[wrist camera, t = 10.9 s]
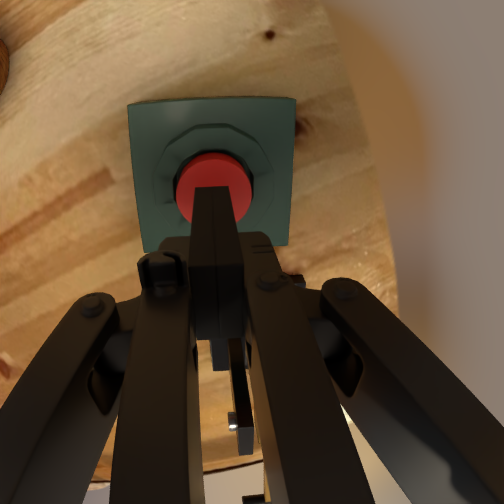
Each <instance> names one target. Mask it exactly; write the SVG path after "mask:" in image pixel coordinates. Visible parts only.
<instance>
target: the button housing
mask: <svg viewBox="0 0 504 504" xmlns="http://www.w3.org/2000/svg"><path fill="white" fill-rule="evenodd" d="M127 107H128V123H129V137H130V149H131V159H132V169H133V178H134V187H135V195H136V203H137V211H138V218H139V225H140V231H141V238H142V244H143V250H144V253H151V252H154V251H158V248H159V244H160V243H161V242H162V241H163V240H164V239H165V238H166V237H177V236H190V233H191V223H190V222H189V221H188V220H187V219H185V217H184V216H183V215H182V213H181V212H180V210H179V208H178V205H177V200H176V190H177V186H178V182H179V179H180V175H181V173H182V171H183V169H184V167H185V166H186V165H187V164H188V163H189V162H190V161H191V160H192V159H194V158H195V157H197V156H199V155H202V154H205V153H211V152H218V153H223V154H227V155H229V156H231V157H233V158H234V159H236V160H237V161H238V162H239V163H240V164H241V165H242V167H243V168H244V170H245V172H246V174H247V177H248V179H249V182H250V185H251V190H252V198H251V203H250V206H249V208H248V210H247V212H246V213H245V215H244V216H243V217H242V218H241V219H240V220H239V221H238V222H237V223H236V226H237V231H238V232H255V231H262V232H263V233H264V234H266V235H267V236H268V237H269V238H270V240H271V243H272V246H287V245H288V238H289V224H290V209H291V194H292V177H293V159H294V140H295V118H296V99H294V98H289V97H273V96H217V97H193V98H177V99H165V100H154V101H144V102H136V103H133V104H129V105H128V106H127Z"/></svg>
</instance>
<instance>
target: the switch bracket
mask: <svg viewBox="0 0 504 504" xmlns="http://www.w3.org/2000/svg"><path fill="white" fill-rule="evenodd" d="M290 277H291V279H292V280H293V282H294V285H296V286H299V287H302V288H305V287H306V282H305V280H304V278H303V275H295V276H290ZM210 348H211V357H212V366H213V371H226V370H229V372H230V382H231V391H232V400H233V409H234V412H228V423H229V431H236V435H237V443H238V452H239V456H241V455H252V454H253V444H254V422H253V416H252V409H251V403H250V396H249V390H248V383H247V376H246V370H245V369H248V365H247V366H245V332H244V337H242V338H228V339H211V340H210Z"/></svg>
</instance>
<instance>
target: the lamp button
mask: <svg viewBox="0 0 504 504" xmlns="http://www.w3.org/2000/svg"><path fill="white" fill-rule="evenodd" d="M211 186H229V191H230V196H231V201H232V206H233V211H234V216H235V221H236V223H237V222H238V221H239V220H240V219H241V218H242V217H243V216H244V215H245V213H246V212H247V210H248V208H249V206H250V203H251V198H252V190H251V185H250V182H249V179H248V177H247V174H246V172H245V170H244V168H243V167H242V165H241V164H240V163H239V162H238V161H237V160H236V159H234V158H233V157H231V156H229V155H227V154H223V153H218V152H211V153H205V154H202V155H199V156H197V157H195V158H194V159H192V160H191V161H190V162H189V163H188V164H187V165H186V166H185V167H184V169H183V171H182V173H181V175H180V179H179V182H178V186H177V190H176V200H177V205H178V208H179V210H180V212H181V213H182V215H183V216H184V217H185V219H187V220H188V221H189V222H190V223H191V222H192V211H193V201H194V191H195V187H211Z"/></svg>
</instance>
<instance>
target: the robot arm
mask: <svg viewBox="0 0 504 504" xmlns="http://www.w3.org/2000/svg"><path fill="white" fill-rule="evenodd" d="M137 267H138V272H139V277H140V282H141V286H142V292H141V295H140V296H138V297H136V298H133V299H130V300H127V301H123V302H119V303H115V299H114V298H113V297H112V296H111V295H110V294H106V293H103V292H95V293H90V294H87V295H85V296H83V297H81V298H79V299H78V300H77V301H76V302H75V303H74V304H73V305H72V307H71V308H70V309H69V310H68V312H67V313H66V314H65V316H64V317H63V318H62V320H61V321H60V322H59V324H58V325H57V326H56V328H55V329H54V330H53V332H52V333H51V334H50V336H49V337H48V338H47V340H46V341H45V343H44V344H43V345H42V347H41V348H40V350H39V351H38V352H37V354H36V355H35V357H34V358H33V360H32V361H31V363H30V364H29V365H28V367H27V368H26V370H25V371H24V373H23V374H22V376H21V377H20V379H19V380H18V382H17V383H16V385H15V387H14V388H13V390H12V391H11V393H10V394H9V396H8V398H7V399H6V401H5V402H4V404H3V406H2V407H1V409H0V504H82V503H83V500H84V497H85V494H86V492H87V489H88V487H89V484H90V482H91V479H92V476H93V474H94V471H95V469H96V466H97V464H98V461H99V459H100V456H101V454H102V451H103V449H104V446H105V444H106V441H107V439H108V437H109V434H110V432H111V429H112V427H113V425H114V422H115V420H116V418H117V415H118V419H117V426H116V434H115V442H114V451H113V461H112V471H111V483H110V497H109V504H205V494H204V481H203V467H202V451H201V432H200V410H199V380H198V350H197V343H196V338H197V340H211V339H228V338H242V337H244V332H245V366H247V365H248V369H249V375H250V381H251V388H252V394H253V400H254V406H255V412H256V418H257V424H258V430H259V436H260V442H261V447H262V453H263V459H264V465H265V470H266V476H267V481H268V487H269V493H270V498H271V503H272V504H375V501H374V498H373V495H372V492H371V489H370V486H369V483H368V480H367V478H366V475H365V472H364V469H363V466H362V463H361V460H360V458H359V455H358V452H357V449H356V446H355V443H354V440H353V438H352V435H351V432H350V430H349V427H348V424H347V421H346V418H345V416H344V413H343V410H342V407H341V405H342V406H343V408H344V409H345V411H346V412H347V413H348V415H349V416H350V418H351V419H352V421H353V422H354V423H355V425H356V426H357V427H358V429H359V430H360V432H361V433H362V435H363V436H364V437H365V439H366V440H367V442H368V443H369V444H370V446H371V447H372V449H373V450H374V451H375V453H376V454H377V456H378V457H379V459H380V460H381V461H382V463H383V464H384V466H385V467H386V468H387V469H388V471H389V472H390V474H391V475H392V477H393V478H394V480H395V481H396V482H397V484H398V485H399V486H400V488H401V489H402V491H403V492H404V493H405V495H406V496H407V498H408V499H409V500H410V502H411V503H412V504H504V427H503V426H502V425H501V424H500V423H499V422H498V420H497V419H496V418H495V417H494V416H493V415H492V414H491V413H490V412H489V411H488V409H486V407H485V406H484V405H483V404H482V403H481V402H480V401H479V400H478V399H477V398H476V397H475V395H473V393H472V392H471V391H470V390H469V389H468V388H467V387H466V386H465V385H464V384H463V383H462V382H461V381H460V380H459V379H458V378H457V377H456V376H455V375H454V373H453V372H452V371H451V370H450V369H449V368H448V367H447V366H446V365H445V364H444V363H443V362H442V361H441V360H440V359H439V358H438V357H437V356H436V355H435V354H434V353H433V352H432V351H431V350H430V349H429V348H428V347H427V346H426V345H425V344H424V343H423V342H422V341H421V340H420V339H419V338H418V337H417V336H416V335H415V334H414V333H413V332H412V331H411V330H410V329H409V328H408V327H407V326H405V324H403V323H402V322H401V321H400V320H399V319H398V318H397V317H396V316H395V315H394V314H393V313H392V312H391V311H390V310H389V309H388V308H387V307H386V306H385V305H384V304H383V303H382V302H381V301H379V300H378V299H377V298H376V297H375V296H374V295H373V294H372V293H371V292H370V291H369V290H368V289H367V288H366V287H365V286H363V285H362V284H360V283H359V282H357V281H355V280H352V279H349V278H341V277H340V278H332V279H330V280H327V281H326V282H325V283H324V284H323V285H322V289H321V290H314V289H307V288H302V287H299V286H296V285H294V282H293V280H292V279H291V277H290V276H289V275H288V274H286V273H284V272H282V269H281V267H280V264H279V261H278V259H277V256H276V253H275V251H274V248H273V246H272V243H271V240H270V238H269V237H268V236H267V235H266V234H264V233H263V232H262V231H255V232H238V231H237V226H236V221H235V216H234V211H233V206H232V201H231V196H230V191H229V186H211V187H195V191H194V201H193V211H192V222H191V233H190V236H177V237H166V238H165V239H164V240H163V241H162V242H161V243H160V244H159V248H158V251H154V252H151V253H148V254H146V255H145V256H143V257H142V258H140V260H139V261H138V263H137ZM340 404H341V405H340Z"/></svg>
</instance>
